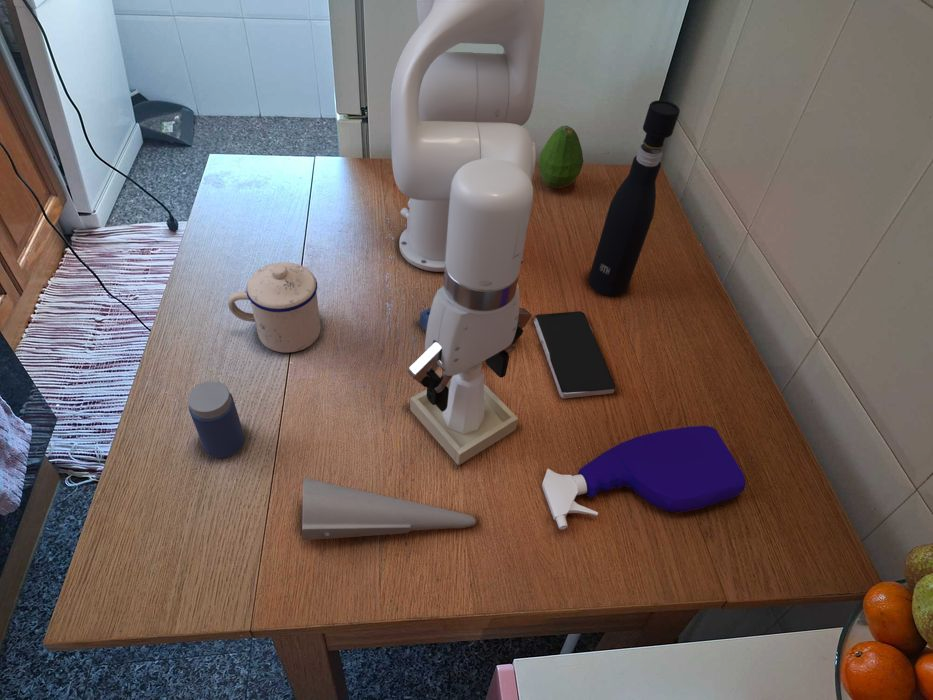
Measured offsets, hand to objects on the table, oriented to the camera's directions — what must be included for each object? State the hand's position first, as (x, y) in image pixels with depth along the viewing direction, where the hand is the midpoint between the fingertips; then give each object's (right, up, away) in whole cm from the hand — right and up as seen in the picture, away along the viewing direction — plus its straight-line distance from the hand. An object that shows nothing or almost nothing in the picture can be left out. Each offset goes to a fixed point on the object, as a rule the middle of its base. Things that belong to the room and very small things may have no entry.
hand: (466, 385), depth 79 cm
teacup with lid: (-27, +7, +13) cm, 30 cm away
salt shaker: (0, -5, +5) cm, 7 cm away
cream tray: (-1, -5, +5) cm, 7 cm away
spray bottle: (+21, -12, +1) cm, 24 cm away
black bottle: (+23, +15, +26) cm, 38 cm away
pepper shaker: (-30, -7, 0) cm, 30 cm away
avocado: (+17, +35, +44) cm, 59 cm away
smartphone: (+15, +3, +14) cm, 21 cm away
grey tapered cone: (-9, -15, -5) cm, 18 cm away
